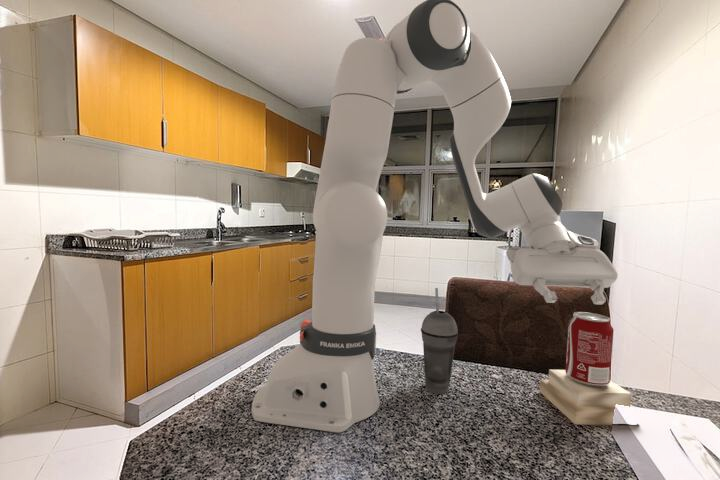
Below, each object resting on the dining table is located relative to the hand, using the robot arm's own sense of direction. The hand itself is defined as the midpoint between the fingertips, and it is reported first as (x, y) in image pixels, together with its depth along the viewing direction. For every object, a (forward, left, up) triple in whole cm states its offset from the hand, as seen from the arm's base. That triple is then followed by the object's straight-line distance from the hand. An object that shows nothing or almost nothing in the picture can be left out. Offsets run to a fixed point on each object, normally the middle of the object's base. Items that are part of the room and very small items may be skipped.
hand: (576, 302), depth 67 cm
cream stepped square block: (0, -4, -18) cm, 19 cm away
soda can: (0, -4, -14) cm, 14 cm away
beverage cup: (-26, +2, -19) cm, 32 cm away
